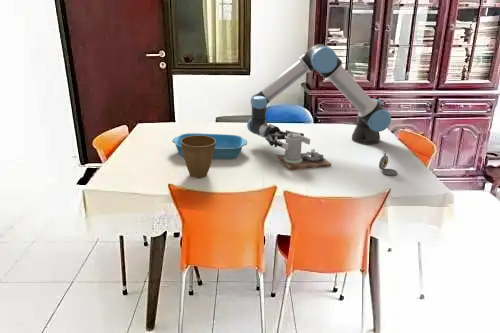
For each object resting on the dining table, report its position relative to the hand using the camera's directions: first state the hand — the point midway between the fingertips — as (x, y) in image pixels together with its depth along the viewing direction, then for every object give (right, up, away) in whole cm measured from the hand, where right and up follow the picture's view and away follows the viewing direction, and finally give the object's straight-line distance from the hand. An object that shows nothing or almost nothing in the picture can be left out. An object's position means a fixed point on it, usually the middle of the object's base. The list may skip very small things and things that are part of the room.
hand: (298, 144), depth 199 cm
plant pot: (-45, -14, -9) cm, 48 cm away
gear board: (+3, -8, +8) cm, 12 cm away
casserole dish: (-42, -4, +17) cm, 46 cm away
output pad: (-2, -7, +6) cm, 10 cm away
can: (-2, -6, +6) cm, 9 cm away
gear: (+8, -6, +8) cm, 13 cm away
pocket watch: (+40, -13, -1) cm, 42 cm away
